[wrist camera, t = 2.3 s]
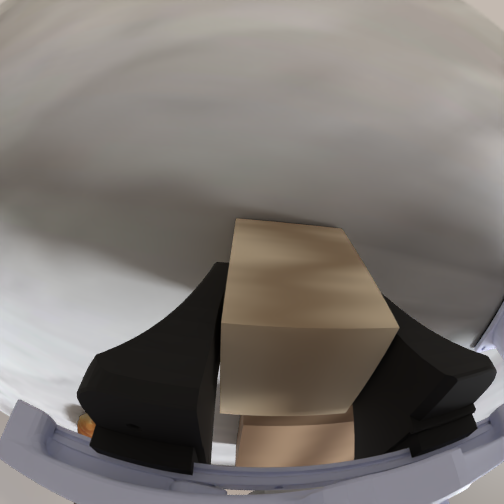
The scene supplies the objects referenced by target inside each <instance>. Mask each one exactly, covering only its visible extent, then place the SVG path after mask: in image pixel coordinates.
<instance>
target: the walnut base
mask: <svg viewBox="0 0 504 504" xmlns="http://www.w3.org/2000/svg"><path fill="white" fill-rule="evenodd" d="M351 460H354V417H353V406H352V404H351V406H350V407H349V409H348V410H347V411H346V413H339V414H327V415H308V416H254V415H240V421H239V428H238V435H237V442H236V461H235V466H236V467H296V466H311V465H321V464H330V463H338V462H345V461H351Z"/></svg>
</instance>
